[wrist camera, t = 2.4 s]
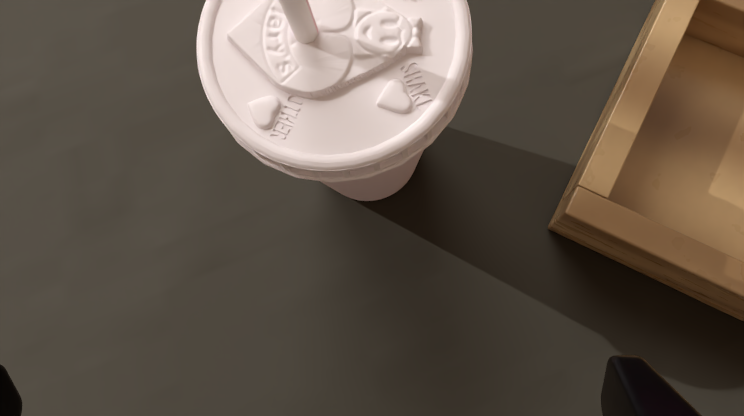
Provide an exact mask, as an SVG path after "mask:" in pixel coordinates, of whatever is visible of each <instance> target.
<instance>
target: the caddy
mask: <svg viewBox="0 0 744 416" xmlns="http://www.w3.org/2000/svg"><path fill="white" fill-rule="evenodd" d="M548 229H549V230H551V231H553V232H556V233H558V234H560V235H562V236H564V237H566V238H568V239H570V240H572V241H575V242H577V243H579V244H581V245H583V246H585V247H587V248H589V249H591V250H594V251H596V252H598V253H600V254H602V255H604V256H606V257H608V258H610V259H613V260H615V261H617V262H619V263H621V264H623V265H625V266H627V267H629V268H631V269H634V270H636V271H638V272H640V273H642V274H644V275H646V276H648V277H650V278H653V279H655V280H657V281H659V282H661V283H663V284H665V285H667V286H669V287H672V288H674V289H676V290H678V291H680V292H682V293H684V294H686V295H688V296H691V297H693V298H695V299H697V300H699V301H701V302H703V303H705V304H707V305H710V306H712V307H714V308H716V309H718V310H720V311H722V312H724V313H726V314H729V315H731V316H733V317H735V318H737V319H739V320H741V321H743V322H744V0H656V1H655V3H654V4H653V6H652V8H651V10H650V13H649V15H648V17H647V19H646V21H645V23H644V25H643V27H642V29H641V32H640V34H639V36H638V38H637V40H636V42H635V44H634V46H633V48H632V50H631V53H630V55H629V57H628V59H627V61H626V63H625V65H624V67H623V69H622V72H621V74H620V76H619V78H618V80H617V82H616V84H615V86H614V88H613V90H612V93H611V95H610V97H609V99H608V101H607V103H606V105H605V107H604V109H603V112H602V114H601V116H600V118H599V120H598V122H597V124H596V126H595V128H594V130H593V133H592V135H591V137H590V139H589V141H588V143H587V145H586V147H585V149H584V152H583V154H582V156H581V158H580V160H579V162H578V164H577V166H576V168H575V171H574V173H573V175H572V177H571V179H570V181H569V183H568V185H567V187H566V189H565V192H564V194H563V196H562V198H561V200H560V202H559V204H558V206H557V208H556V211H555V213H554V215H553V217H552V219H551V221H550V223H549V225H548Z"/></svg>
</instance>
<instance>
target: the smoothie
mask: <svg viewBox="0 0 744 416" xmlns="http://www.w3.org/2000/svg"><path fill="white" fill-rule="evenodd" d="M472 55H473V46H472V27H471V18H470V11H469V7H468V3H467V0H206V2H205V4H204V7H203V10H202V13H201V17H200V22H199V26H198V34H197V63H198V69H199V74H200V78H201V81H202V85H203V88H204V90H205V93H206V95H207V98H208V100H209V102H210V104H211V105H212V107H213V109H214V111H215V112H216V114H217V115H218V117H219V118H220V120H221V121H222V122H223V123H224V124H225V126H226V127H227V129H228V130H229V132H230V133H231V134H232V136H233V137H234V139H235V140H236V141H237V143H238V144H240V145H241V146H242V147H243V148H245V149H246V150H247V151H248V152H250V153H251V154H252V155H253V156H255V157H256V158H257V159H258V160H260V161H261V162H262V163H263V164H265V165H267V166H270V167H272V168H274V169H277V170H279V171H281V172H284V173H286V174H288V175H291V176H293V177H295V178H301V179H308V180H315V181H320V182H322V183H324V184H325V185H327V186H329V187H330V188H332V189H334V190H336V191H337V192H339V193H341V194H342V195H344V196H346V197H349V198H351V199H355V200H360V201H374V200H379V199H383V198H386V197H388V196H390V195H392V194H394V193H396V192H397V191H398V190H400V189H401V188H402V187H403V186H404V185H405V184H406V183H407V182H408V180H409V179H410V177H411V176H412V174H413V172H414V170H415V168H416V166H417V164H418V161H419V159H420V157H421V155H422V153H423V151H424V149H425V148H427V147H428V146H429V145H431V144H432V143H433V142H434V140H435V139H436V138H437V137H438V135H439V134H440V133H441V132H442V131H443V129H444V128H445V127H446V126H447V124H448V123H449V122H450V121H451V120H452V118H453V117H454V115H455V113H456V111H457V109H458V106H459V104H460V102H461V100H462V97H463V95H464V93H465V91H466V88H467V86H468V83H469V76H470V69H471V62H472Z"/></svg>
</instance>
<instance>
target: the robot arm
mask: <svg viewBox="0 0 744 416" xmlns="http://www.w3.org/2000/svg"><path fill="white" fill-rule="evenodd" d="M601 407H602V413H603V416H702V415H701V414H700V413H699V412H697V411H696V410H695V409H694V408H693V407H692V406H691V405H690V404H689V403H688V402H687V401H686V400H685V399H684V398H683V397H682V396H681V395H680V394H679V393H678V392H677V391H676V390H675V389H674V388H673V387H672V386H671V385H670V384H669V383H668V382H667V381H666V380H665V379H664V378H663V377H662V376H661V375H660V374H659V373H658V372H657V371H655V370H654V369H653V368H652V367H651V366H650V365H649V364H648V363H647V362H646V361H645V360H644V359H643V358H641V357H640V356H636V355H617V356H612V357H610V358H609V360H608V362H607V367H606V372H605V377H604V383H603V388H602V393H601ZM21 412H22V400H21V397H20V395H19V393H18V391H17V389H16V387H15V386H14V384H13V382H12V380H11V378H10V376H9V375H8V373H7V371H6V369H5V368H4V367H3V366H2V365H0V416H21Z"/></svg>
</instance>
